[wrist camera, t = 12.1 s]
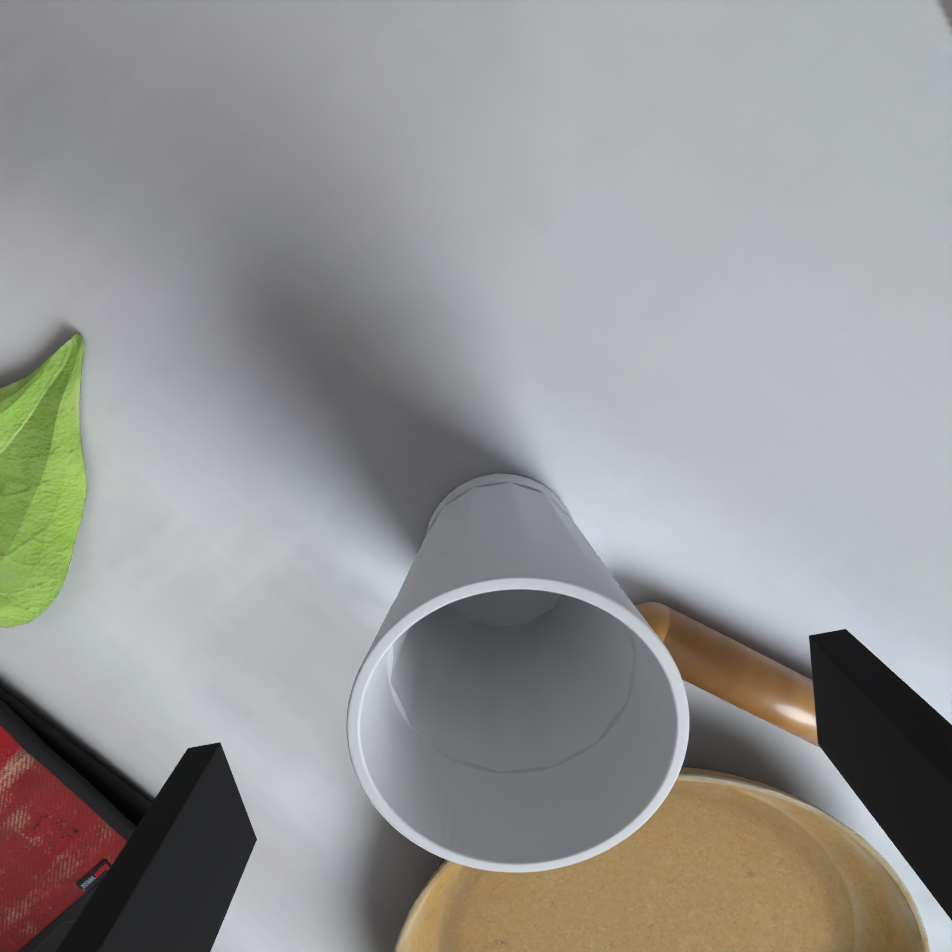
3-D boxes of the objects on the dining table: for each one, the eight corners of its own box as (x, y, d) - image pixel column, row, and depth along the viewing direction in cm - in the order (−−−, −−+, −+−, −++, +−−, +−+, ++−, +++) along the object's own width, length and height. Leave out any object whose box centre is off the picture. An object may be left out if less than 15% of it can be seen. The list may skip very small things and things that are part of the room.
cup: (365, 538, 26) (274, 721, 15) (511, 412, 25) (539, 504, 13) (491, 667, 28) (499, 925, 16) (636, 555, 26) (758, 749, 15)
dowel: (606, 628, 27) (617, 657, 25) (635, 582, 27) (649, 608, 24) (877, 762, 29) (912, 802, 27) (910, 723, 28) (948, 760, 26)
